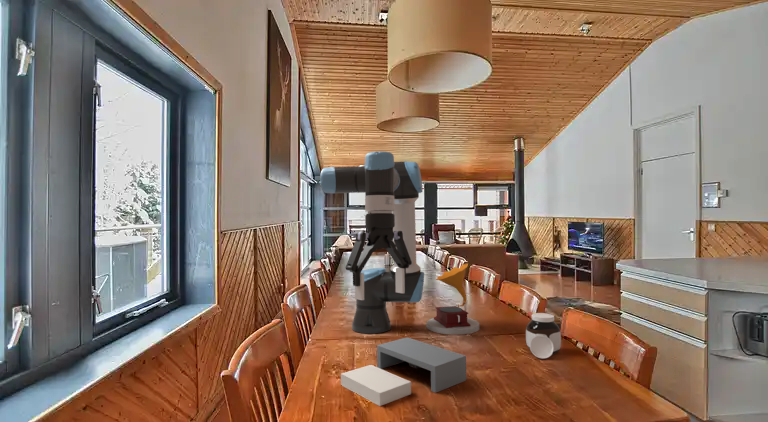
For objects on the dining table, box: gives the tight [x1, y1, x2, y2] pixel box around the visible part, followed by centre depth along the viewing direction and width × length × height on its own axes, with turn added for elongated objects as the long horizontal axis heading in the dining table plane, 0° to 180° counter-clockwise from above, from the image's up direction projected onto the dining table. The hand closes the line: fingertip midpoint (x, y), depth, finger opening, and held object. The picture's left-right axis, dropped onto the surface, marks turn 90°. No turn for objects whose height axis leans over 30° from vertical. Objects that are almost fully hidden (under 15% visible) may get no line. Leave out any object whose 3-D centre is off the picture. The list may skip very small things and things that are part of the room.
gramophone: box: [426, 263, 480, 336], centre depth 165 cm, size 20×20×25 cm
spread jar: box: [525, 312, 562, 360], centre depth 132 cm, size 12×11×12 cm
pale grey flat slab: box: [340, 364, 412, 407], centre depth 106 cm, size 16×10×3 cm, turn 40°
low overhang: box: [376, 337, 467, 394], centre depth 117 cm, size 23×12×6 cm, turn 40°
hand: (380, 296), depth 107 cm, fingers open, 13 cm apart
